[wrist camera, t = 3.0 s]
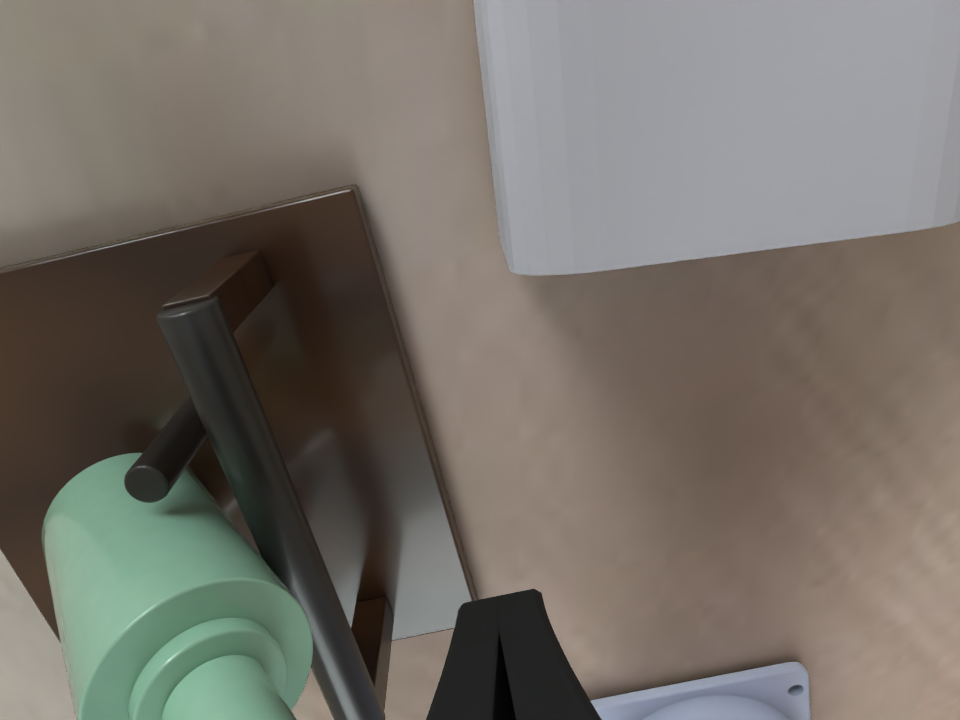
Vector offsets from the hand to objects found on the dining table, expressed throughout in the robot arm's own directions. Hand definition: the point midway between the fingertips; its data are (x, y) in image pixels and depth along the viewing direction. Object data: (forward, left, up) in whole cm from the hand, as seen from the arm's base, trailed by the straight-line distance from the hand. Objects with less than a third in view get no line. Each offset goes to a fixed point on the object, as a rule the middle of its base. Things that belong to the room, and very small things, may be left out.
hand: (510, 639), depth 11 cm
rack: (0, +8, -8) cm, 12 cm away
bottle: (0, +8, -8) cm, 11 cm away
